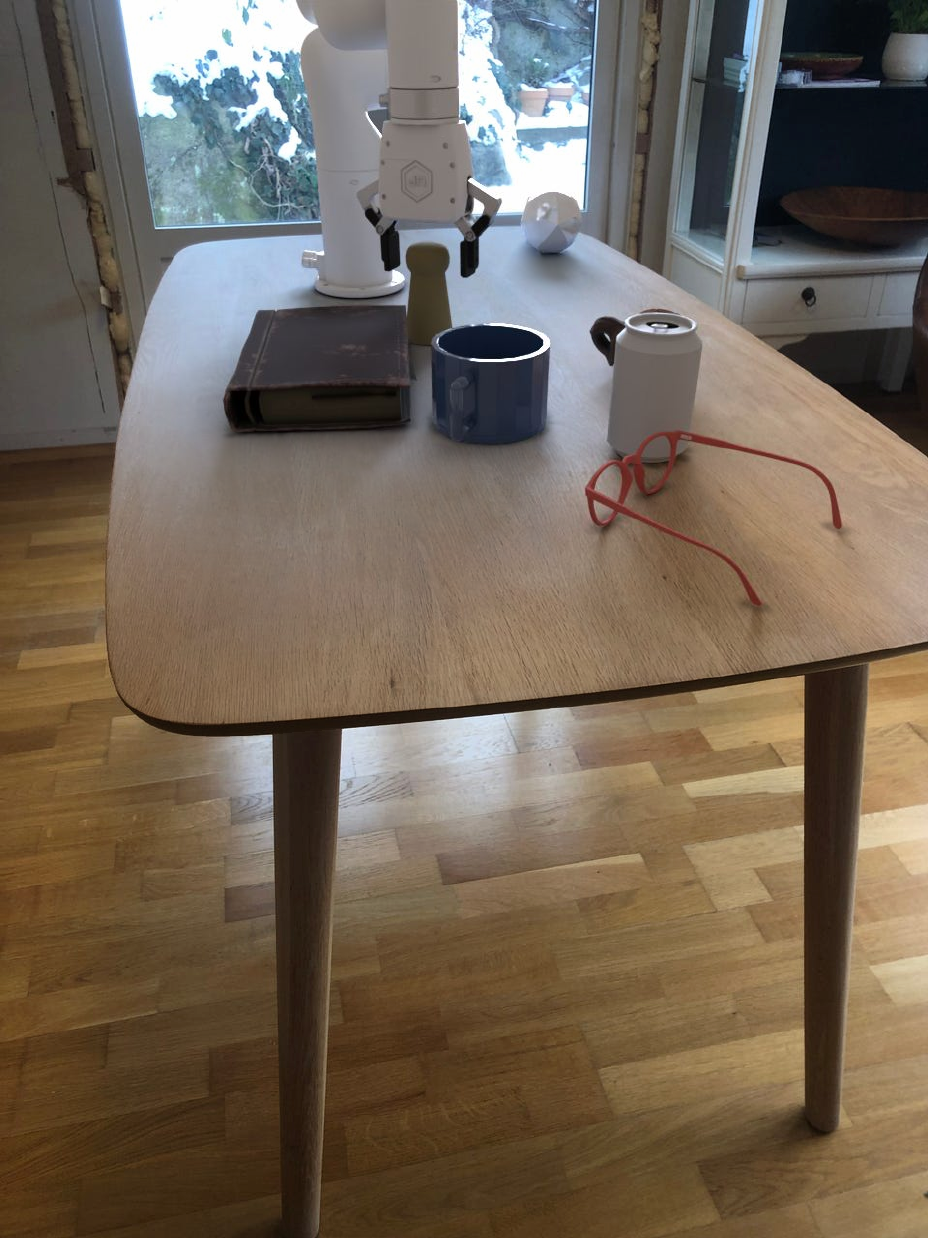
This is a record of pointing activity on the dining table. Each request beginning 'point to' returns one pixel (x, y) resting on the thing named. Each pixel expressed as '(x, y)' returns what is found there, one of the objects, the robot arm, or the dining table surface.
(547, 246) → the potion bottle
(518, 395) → the blue coffee cup
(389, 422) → the diary
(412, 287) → the cork
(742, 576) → the red eyeglasses
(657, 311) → the pottery mug
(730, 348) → the dining table surface
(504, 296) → the dining table surface
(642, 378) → the can
